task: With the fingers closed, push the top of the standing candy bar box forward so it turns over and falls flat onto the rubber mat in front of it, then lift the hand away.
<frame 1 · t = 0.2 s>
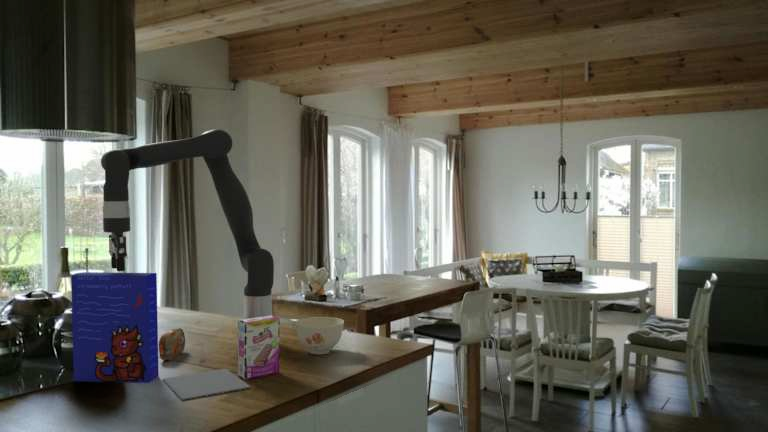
hand: (118, 269, 187), 29 cm above the counter, fingers open, 8 cm apart
bowl: (319, 352, 202), on the counter
candy bar box: (259, 375, 177), on the counter
tin: (172, 357, 197), on the counter
mat: (205, 384, 169), on the counter
cereal box: (116, 379, 175), on the counter
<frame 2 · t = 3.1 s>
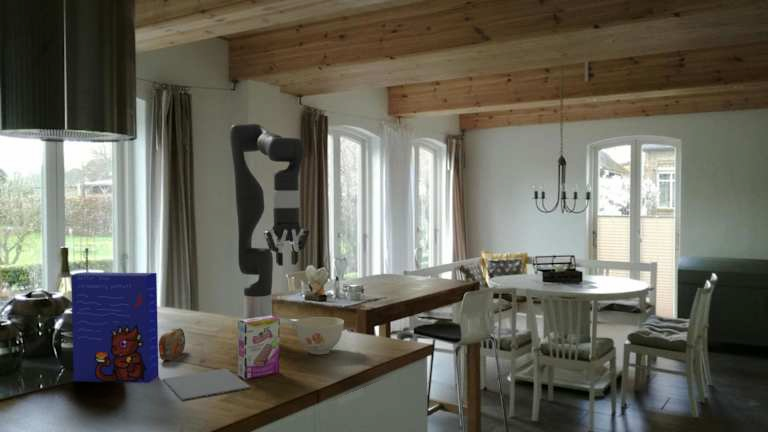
hand: (287, 264, 181), 31 cm above the counter, fingers open, 3 cm apart
nothing on the counter moved.
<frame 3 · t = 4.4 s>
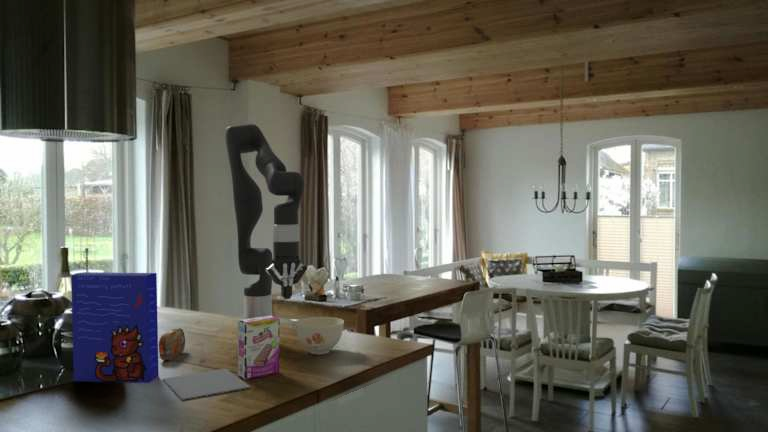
hand: (286, 298, 181), 21 cm above the counter, fingers closed
nothing on the counter moved.
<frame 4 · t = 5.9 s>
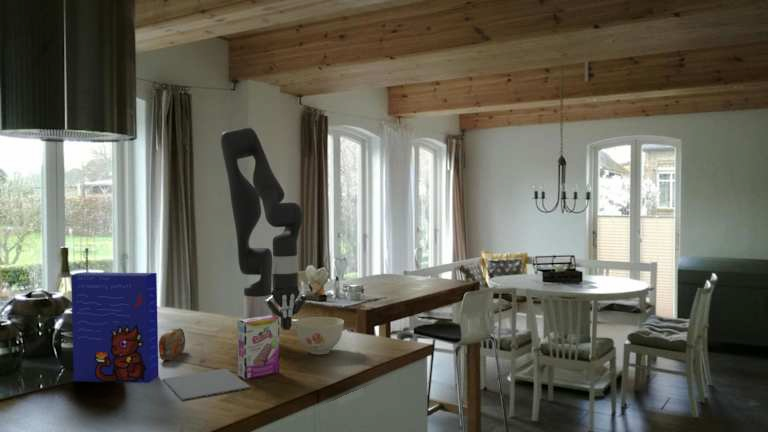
hand: (286, 329, 181), 12 cm above the counter, fingers closed
candy bar box: (259, 375, 177), on the counter, touching gripper
everything else where it was.
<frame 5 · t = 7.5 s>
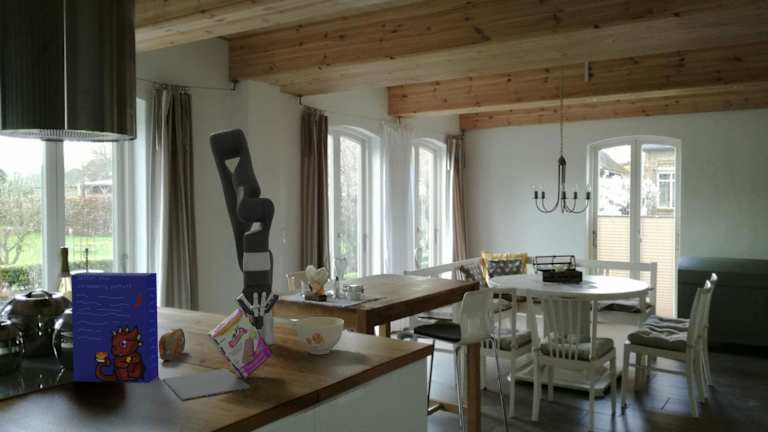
hand: (257, 329, 175), 14 cm above the counter, fingers closed
candy bar box: (257, 365, 177), point 3 cm above the counter, touching gripper
everything else where it was.
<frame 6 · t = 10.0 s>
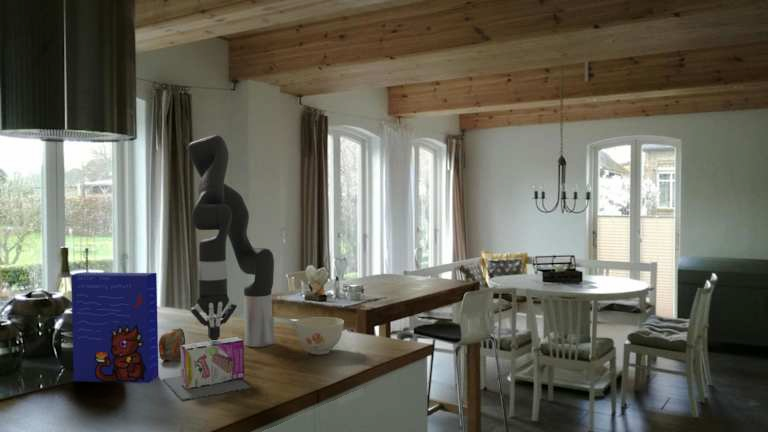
hand: (214, 339, 170), 12 cm above the counter, fingers closed
candy bar box: (242, 356, 174), point 6 cm above the counter, touching mat
everything else where it was.
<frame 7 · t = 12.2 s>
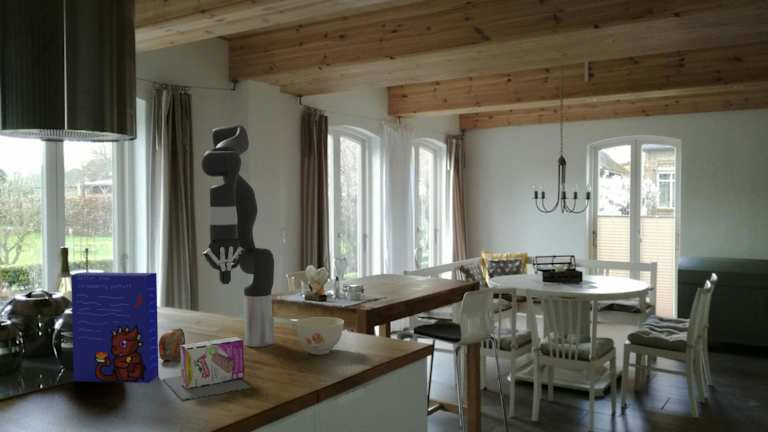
hand: (225, 283, 174), 27 cm above the counter, fingers closed
nothing on the counter moved.
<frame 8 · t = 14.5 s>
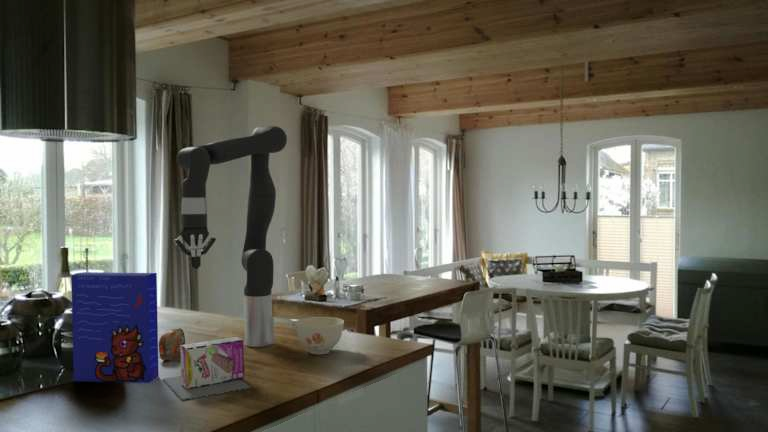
hand: (195, 268, 190), 29 cm above the counter, fingers closed
nothing on the counter moved.
at the end: candy bar box tilted 91°; candy bar box inside the target area on the mat (7.8 cm from its centre), point 6.2 cm above the mat's base; candy bar box touching mat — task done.
